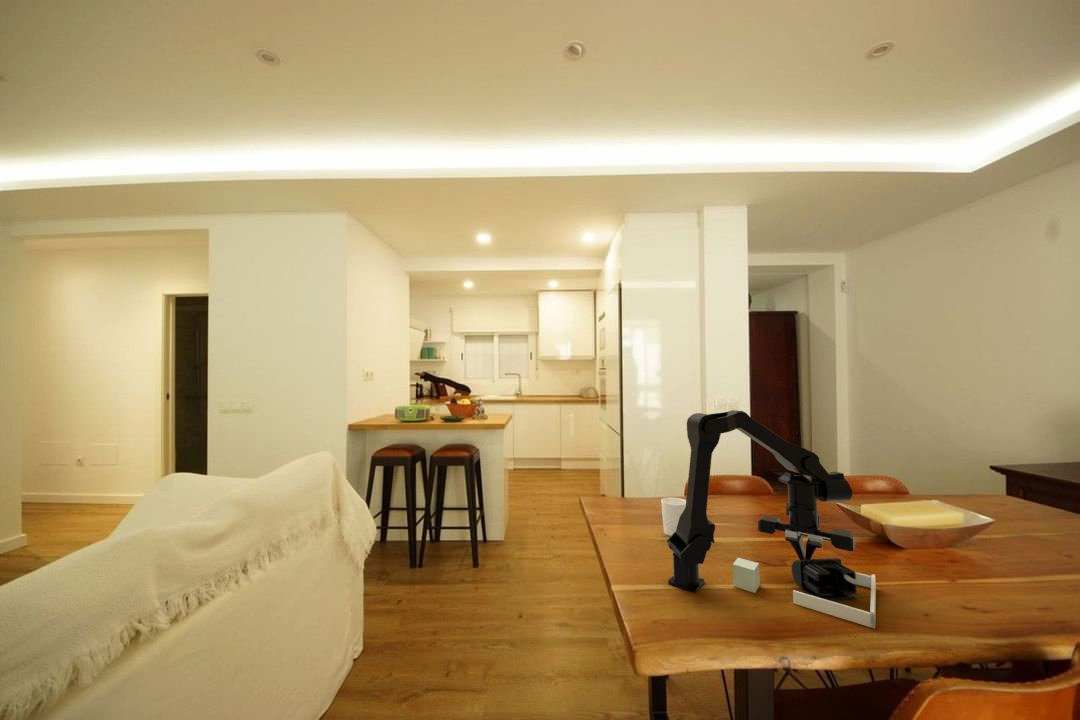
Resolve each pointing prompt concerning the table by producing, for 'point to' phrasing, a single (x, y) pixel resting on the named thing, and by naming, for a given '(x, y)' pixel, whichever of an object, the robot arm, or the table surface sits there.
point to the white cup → (672, 513)
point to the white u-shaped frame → (841, 609)
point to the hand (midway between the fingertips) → (805, 568)
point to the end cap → (824, 578)
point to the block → (746, 575)
